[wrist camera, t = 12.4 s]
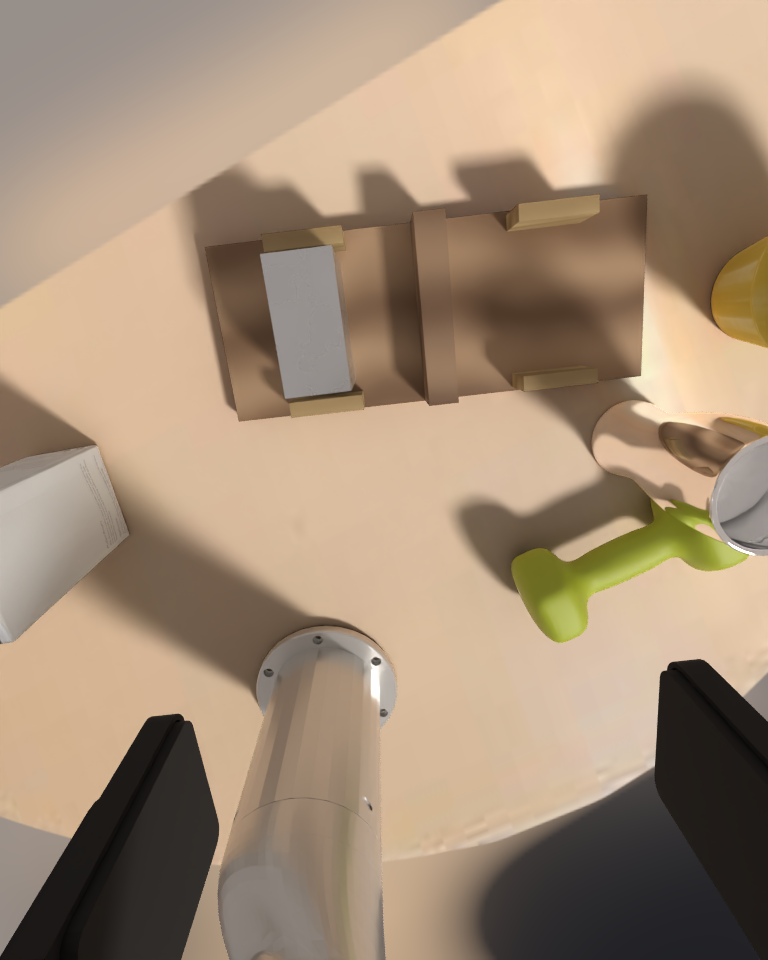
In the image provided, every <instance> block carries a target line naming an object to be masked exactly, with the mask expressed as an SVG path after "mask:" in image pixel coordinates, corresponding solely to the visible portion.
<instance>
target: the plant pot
mask: <svg viewBox="0 0 768 960" xmlns="http://www.w3.org/2000/svg"><path fill="white" fill-rule="evenodd" d="M711 308H712V314H713V317H714V319H715V321H716V323H717V325H718V326H719V328H720V329H721V330H722V331H723V332H724V333H726V334H727V335H729V336H730V337H732V338H735V339H738V340H741V341H745V342H749V343H752V344H756V345H759V346H762V347H765V348H768V236H767V237H765V238H763V239H762V240H760V241H758V242H756V243H755V244H753V245H751V246H749V247H747V248H746V249H744V250H742V251H741V252H739V253H738V254H736V255H735V256H734V257H733V258H731V259H730V260H729V261H728V262H727V264H726V265H725V266H724V267H723V269H722V270H721V272H720V273H719V275H718V277H717V279H716V281H715V284H714V286H713V291H712V296H711Z"/></svg>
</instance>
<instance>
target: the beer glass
mask: <svg viewBox="0 0 768 960" xmlns="http://www.w3.org/2000/svg"><path fill="white" fill-rule="evenodd" d="M591 445H592V451H593V455H594V457H595V459H596V461H597V462H598V463H599V465H600V466H601V467H602V468H604V469H605V470H606V471H608V472H610V473H612V474H615V475H619V476H625V477H628V478H631V479H633V480H634V481H635V482H636V483H637V484H638V485H639V486H640V487H641V488H642V489H643V491H644V492H645V493H646V494H647V495H648V496H649V497H650V498H651V499H652V500H653V501H654V502H655V503H656V504H657V505H659V506H660V507H661V508H662V509H663V510H664V511H665V512H667V513H668V514H670V515H671V516H673V517H674V518H676V519H677V520H678V521H680V522H682V523H683V524H685V525H687V526H689V527H690V528H692V529H694V530H696V531H698V532H700V533H702V534H704V535H706V536H708V537H710V538H712V539H714V540H717V541H719V542H721V543H724V544H726V545H728V546H729V547H731V548H733V549H734V550H736V551H739V552H741V553H745V554H749V555H756V556H766V555H768V423H767V422H764V421H760V420H756V419H752V418H749V417H744V416H739V415H733V414H727V413H715V412H684V413H666V412H665V411H663V410H662V409H660V408H659V407H657V406H655V405H653V404H651V403H649V402H646V401H640V400H630V401H625V402H622V403H619V404H617V405H615V406H613V407H611V408H610V409H609V410H607V411H606V412H605V413H604V414H603V415H602V416H601V418H600V419H599V420H598V422H597V424H596V426H595V428H594V431H593V434H592V441H591Z"/></svg>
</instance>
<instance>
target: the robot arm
mask: <svg viewBox="0 0 768 960" xmlns="http://www.w3.org/2000/svg"><path fill="white" fill-rule="evenodd" d="M256 695H257V700H258V704H259V707H260V709H261V711H262V713H263V716H264V719H263V723H262V726H261V730H260V733H259V736H258V740H257V743H256V747H255V750H254V753H253V757H252V760H251V764H250V767H249V770H248V774H247V777H246V781H245V784H244V788H243V791H242V794H241V798H240V801H239V805H238V808H237V811H236V815H235V818H234V822H233V825H232V829H231V832H230V836H229V839H228V842H227V846H226V849H225V853H224V856H223V860H222V864H221V868H220V874H219V881H218V913H219V920H220V925H221V930H222V936H223V939H224V943H225V947H226V950H227V953H228V956H229V960H386V957H385V942H384V926H383V897H382V853H381V768H380V729H381V728H382V727H383V726H384V725H385V723H386V722H387V721H388V719H389V718H390V716H391V714H392V712H393V709H394V707H395V703H396V698H397V683H396V674H395V671H394V668H393V666H392V663H391V661H390V660H389V658H388V656H387V655H386V653H385V652H384V651H383V650H382V649H381V648H380V647H379V646H378V645H377V644H376V643H375V642H373V641H372V640H371V639H369V638H368V637H366V636H364V635H362V634H360V633H358V632H356V631H353V630H350V629H346V628H343V627H335V626H317V627H311V628H306V629H302V630H299V631H297V632H295V633H292V634H290V635H288V636H287V637H285V638H284V639H282V640H281V641H279V642H278V643H277V644H276V645H275V646H274V647H273V648H272V649H271V650H270V651H269V653H268V654H267V656H266V658H265V659H264V661H263V663H262V666H261V668H260V671H259V674H258V679H257V683H256ZM655 784H656V788H657V791H658V793H659V796H660V798H661V799H662V801H663V803H664V804H665V806H666V808H667V809H668V811H669V812H670V814H671V816H672V817H673V819H674V821H675V822H676V824H677V825H678V827H679V829H680V830H681V832H682V833H683V835H684V837H685V838H686V840H687V842H688V843H689V845H690V846H691V848H692V849H693V851H694V853H695V854H696V856H697V858H698V859H699V861H700V862H701V864H702V866H703V867H704V869H705V871H706V872H707V874H708V875H709V877H710V879H711V880H712V882H713V883H714V885H715V887H716V888H717V890H718V892H719V893H720V895H721V896H722V898H723V899H724V901H725V903H726V904H727V906H728V908H729V909H730V911H731V913H732V914H733V916H734V917H735V919H736V921H737V922H738V924H739V926H740V927H741V929H742V930H743V932H744V933H745V935H746V937H747V938H748V940H749V942H750V943H751V945H752V946H753V948H754V950H755V951H756V953H757V955H758V956H759V958H760V959H761V960H768V722H767V721H766V720H765V719H764V718H763V717H762V716H761V715H760V714H759V713H758V712H757V711H756V710H755V709H754V708H753V707H752V706H751V705H750V704H749V703H748V702H747V701H746V700H745V699H744V698H743V697H742V696H741V695H740V694H739V693H738V692H737V691H736V690H735V689H734V688H733V687H732V686H731V685H730V684H729V683H728V682H727V681H726V680H725V679H724V678H723V677H722V676H721V675H719V674H718V673H717V672H716V671H715V670H714V669H713V668H712V667H711V666H710V665H709V664H708V663H707V662H706V661H704V660H701V659H697V660H687V661H678V662H671V663H670V664H669V665H668V668H667V671H662V673H661V675H660V687H659V705H658V723H657V741H656V759H655ZM218 836H219V822H218V818H217V814H216V810H215V806H214V803H213V799H212V795H211V792H210V788H209V784H208V780H207V777H206V773H205V769H204V765H203V762H202V758H201V754H200V751H199V747H198V743H197V739H196V736H195V732H194V728H193V725H192V723H191V722H190V721H184V718H183V716H182V715H181V714H172V715H162V716H153V717H150V718H148V719H147V721H146V722H145V723H144V725H143V727H142V728H141V730H140V732H139V733H138V735H137V737H136V738H135V740H134V742H133V743H132V745H131V747H130V748H129V750H128V752H127V753H126V755H125V757H124V758H123V760H122V762H121V763H120V765H119V767H118V768H117V770H116V772H115V773H114V775H113V777H112V778H111V780H110V782H109V783H108V785H107V787H106V788H105V790H104V792H103V793H102V795H101V797H100V798H99V799H98V800H97V801H96V802H95V803H94V804H93V805H92V807H91V808H90V809H89V811H88V813H87V814H86V816H85V817H84V819H83V821H82V822H81V824H80V826H79V827H78V829H77V831H76V832H75V834H74V836H73V837H72V839H71V841H70V842H69V844H68V846H67V847H66V849H65V851H64V852H63V854H62V856H61V857H60V859H59V861H58V862H57V864H56V865H55V867H54V869H53V871H52V872H51V874H50V875H49V877H48V879H47V880H46V882H45V884H44V885H43V887H42V889H41V890H40V892H39V893H38V895H37V897H36V898H35V900H34V902H33V903H32V905H31V907H30V908H29V910H28V912H27V913H26V915H25V917H24V918H23V920H22V921H21V923H20V925H19V927H18V928H17V930H16V931H15V933H14V935H13V936H12V938H11V940H10V941H9V943H8V945H7V946H6V948H5V950H4V951H3V953H2V955H1V956H0V960H181V958H182V955H183V952H184V948H185V945H186V942H187V938H188V935H189V932H190V929H191V926H192V923H193V920H194V916H195V913H196V910H197V907H198V904H199V900H200V897H201V894H202V891H203V887H204V884H205V881H206V878H207V875H208V871H209V868H210V865H211V862H212V859H213V855H214V852H215V849H216V846H217V842H218Z"/></svg>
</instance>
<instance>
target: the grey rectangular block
mask: <svg viewBox="0 0 768 960" xmlns="http://www.w3.org/2000/svg"><path fill="white" fill-rule="evenodd" d="M260 258H261V263H262V269H263V275H264V281H265V286H266V292H267V298H268V304H269V309H270V315H271V321H272V327H273V332H274V338H275V344H276V350H277V355H278V361H279V367H280V372H281V378H282V384H283V390H284V395H285V399H288V398H296V397H304V396H313V395H321V394H329V393H337V392H345V391H352V388H353V386H354V384H355V382H356V378H355V370H354V363H353V355H352V348H351V340H350V332H349V325H348V317H347V310H346V302H345V295H344V287H343V280H342V272H341V265H340V262H339V260H338V257H337V255H336V253H335V251H334V249H333V247H332V245H328V246H320V247H312V248H305V249H297V250H289V251H281V252H273V253H265V254H260Z"/></svg>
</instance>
